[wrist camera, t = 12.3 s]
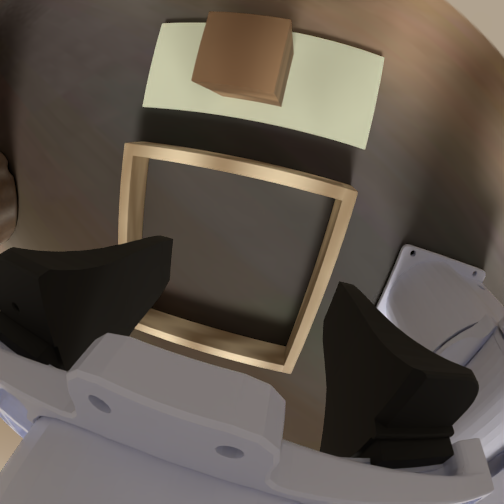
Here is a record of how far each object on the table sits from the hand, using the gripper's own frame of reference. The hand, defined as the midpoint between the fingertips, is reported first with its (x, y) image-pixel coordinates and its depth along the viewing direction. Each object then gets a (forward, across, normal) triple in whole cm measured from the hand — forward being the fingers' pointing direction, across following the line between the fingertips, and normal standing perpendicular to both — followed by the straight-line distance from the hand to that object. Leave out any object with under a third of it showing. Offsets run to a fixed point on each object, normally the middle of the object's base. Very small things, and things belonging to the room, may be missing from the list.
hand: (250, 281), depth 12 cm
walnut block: (+9, +3, -10) cm, 14 cm away
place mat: (+9, +3, -10) cm, 14 cm away
